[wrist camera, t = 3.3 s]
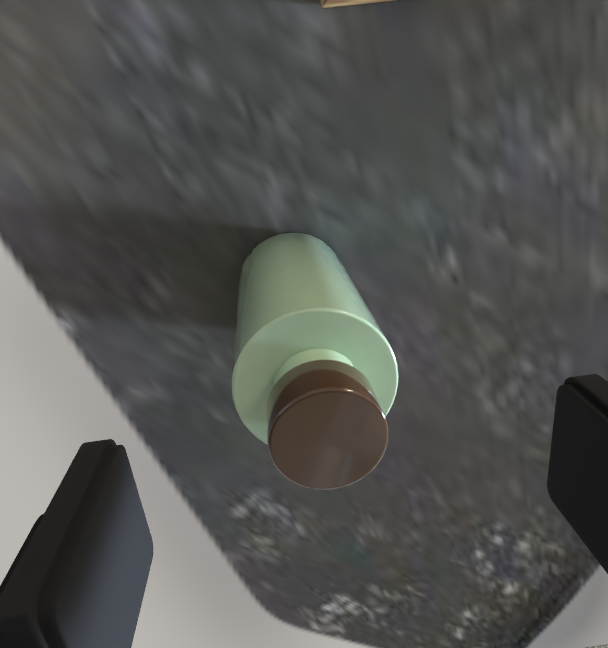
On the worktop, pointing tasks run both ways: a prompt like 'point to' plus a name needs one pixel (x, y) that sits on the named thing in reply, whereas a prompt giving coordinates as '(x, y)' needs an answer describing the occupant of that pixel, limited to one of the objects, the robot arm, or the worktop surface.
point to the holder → (347, 2)
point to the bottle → (310, 364)
